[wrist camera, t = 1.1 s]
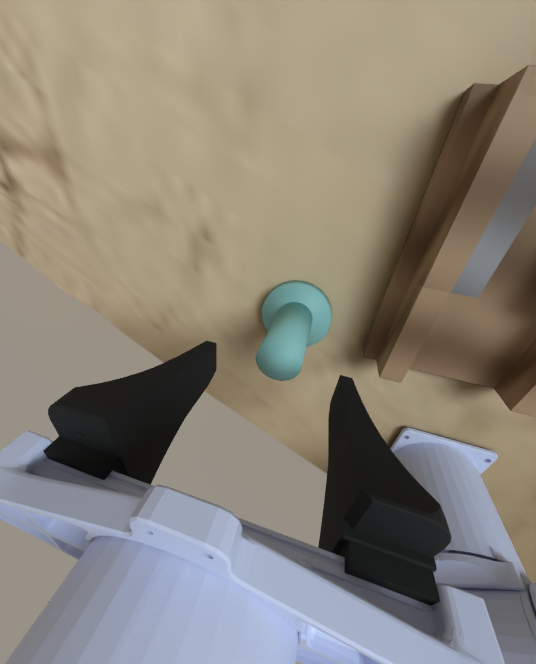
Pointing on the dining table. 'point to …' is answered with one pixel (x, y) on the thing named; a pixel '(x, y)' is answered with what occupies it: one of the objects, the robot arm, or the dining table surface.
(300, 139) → the dining table surface
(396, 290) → the rail
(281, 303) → the teal flanged knob
